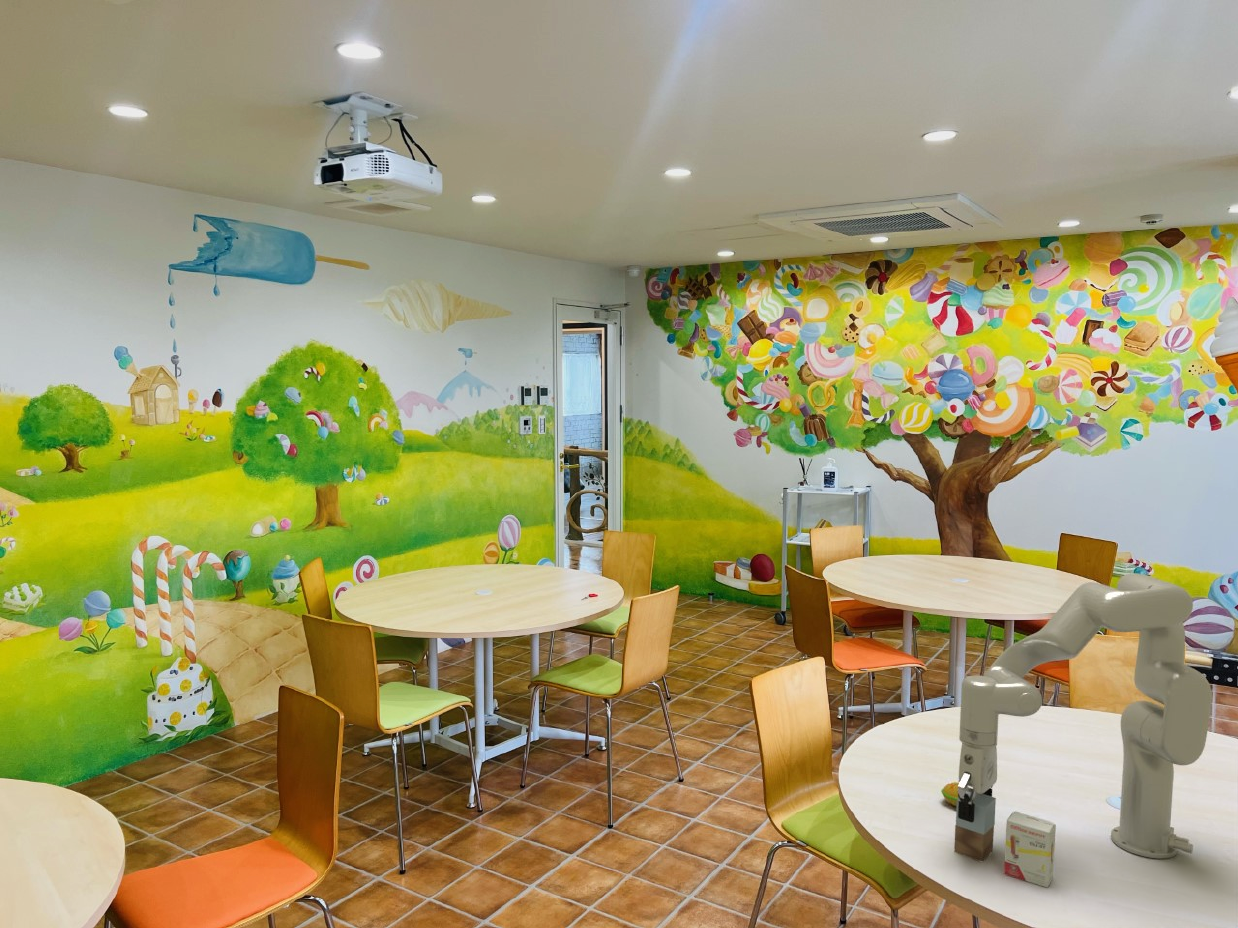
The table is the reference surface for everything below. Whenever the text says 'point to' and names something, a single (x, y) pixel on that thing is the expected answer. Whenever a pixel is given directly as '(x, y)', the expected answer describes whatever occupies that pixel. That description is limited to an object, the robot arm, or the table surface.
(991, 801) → the gray block
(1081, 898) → the table surface
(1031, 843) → the ink box
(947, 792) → the toy pineapple
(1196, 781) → the table surface
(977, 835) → the walnut block
